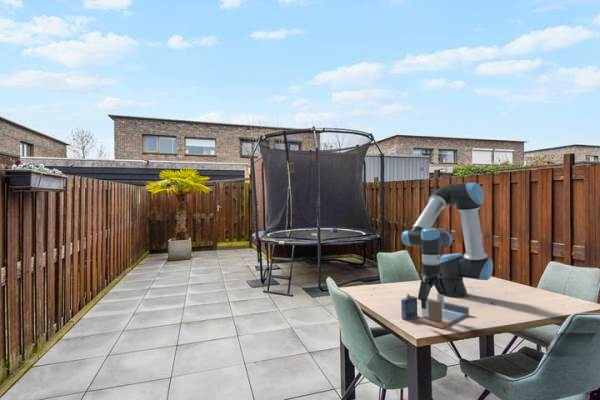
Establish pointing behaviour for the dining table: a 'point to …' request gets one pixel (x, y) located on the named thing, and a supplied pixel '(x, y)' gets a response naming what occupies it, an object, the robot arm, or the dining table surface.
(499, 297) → the dining table surface
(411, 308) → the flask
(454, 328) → the dining table surface
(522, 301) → the dining table surface
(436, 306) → the upright panel on base
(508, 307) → the dining table surface
